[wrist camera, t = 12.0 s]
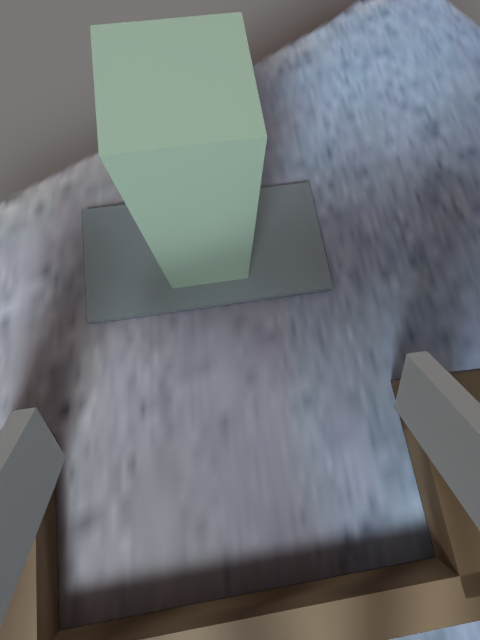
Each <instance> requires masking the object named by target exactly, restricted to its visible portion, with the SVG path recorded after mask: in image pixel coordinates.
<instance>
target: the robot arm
mask: <svg viewBox="0 0 480 640" xmlns="http://www.w3.org/2000/svg"><path fill="white" fill-rule="evenodd" d="M394 408H395V409H396V411H397V412H398V413H399V415H400V416H401V418H402V419H403V421H404V422H405V424H406V425H407V426H408V428H409V429H410V431H411V432H412V434H413V435H414V437H415V438H416V439H417V441H418V442H419V444H420V445H421V447H422V448H423V450H424V451H425V452H426V454H427V455H428V457H429V458H430V460H431V461H432V463H433V464H434V465H435V467H436V468H437V470H438V471H439V473H440V474H441V476H442V477H443V478H444V480H445V481H446V483H447V484H448V486H449V487H450V489H451V490H452V491H453V493H454V494H455V496H456V497H457V499H458V500H459V502H460V503H461V504H462V506H463V507H464V509H465V510H466V512H467V513H468V515H469V516H470V517H471V519H472V520H473V522H474V523H475V525H476V526H477V528H478V529H479V530H480V403H479V402H478V401H477V400H476V399H475V398H474V397H473V396H472V395H471V394H470V393H469V392H468V391H467V390H466V389H465V388H464V387H463V386H462V385H461V384H460V383H459V382H458V381H457V380H456V379H455V378H454V377H453V376H452V375H451V374H450V373H449V372H448V371H447V370H446V369H445V368H444V367H443V366H442V365H441V364H440V363H439V362H438V361H437V360H436V359H435V358H434V357H433V356H432V355H431V354H430V353H429V352H428V351H422V352H415V353H408V354H406V358H405V363H404V367H403V371H402V376H401V380H400V384H399V389H398V393H397V397H396V401H395V406H394ZM65 459H66V457H65V455H64V453H63V451H62V450H61V448H60V446H59V445H58V443H57V441H56V440H55V438H54V436H53V435H52V433H51V431H50V430H49V428H48V426H47V425H46V423H45V421H44V419H43V418H42V416H41V414H40V413H39V411H38V409H37V408H36V407H35V408H28V409H21V410H14V411H13V412H12V413H11V415H10V417H9V418H8V420H7V421H6V423H5V424H4V426H3V428H2V429H1V431H0V627H1V625H2V622H3V619H4V617H5V614H6V612H7V609H8V607H9V604H10V601H11V599H12V596H13V594H14V591H15V588H16V586H17V583H18V581H19V578H20V575H21V573H22V570H23V568H24V565H25V563H26V560H27V557H28V555H29V552H30V550H31V547H32V544H33V542H34V539H35V537H36V534H37V531H38V529H39V526H40V524H41V521H42V519H43V516H44V513H45V511H46V508H47V506H48V503H49V500H50V498H51V495H52V493H53V490H54V487H55V485H56V482H57V480H58V477H59V474H60V472H61V469H62V467H63V464H64V462H65Z"/></svg>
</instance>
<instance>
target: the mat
mask: <svg viewBox="0 0 480 640" xmlns="http://www.w3.org/2000/svg"><path fill="white" fill-rule="evenodd" d="M82 229H83V249H84V270H85V290H86V310H87V322H88V323H90V324H95V323H102V322H109V321H116V320H123V319H130V318H137V317H144V316H152V315H159V314H166V313H173V312H180V311H187V310H194V309H201V308H208V307H215V306H222V305H229V304H236V303H243V302H250V301H257V300H264V299H271V298H278V297H285V296H292V295H300V294H307V293H314V292H321V291H328V290H331V289H332V288H333V284H332V279H331V275H330V271H329V266H328V262H327V258H326V253H325V249H324V245H323V240H322V236H321V232H320V227H319V223H318V219H317V214H316V210H315V206H314V201H313V197H312V193H311V188H310V184H309V182H304V183H296V184H288V185H280V186H272V187H263V188H260V194H259V201H258V208H257V216H256V223H255V230H254V238H253V245H252V253H251V260H250V267H249V275H248V278H246V279H238V280H231V281H224V282H217V283H210V284H202V285H195V286H188V287H181V288H174V289H172V287H171V285H170V284H169V282H168V280H167V278H166V276H165V275H164V273H163V271H162V269H161V267H160V266H159V264H158V262H157V260H156V258H155V257H154V255H153V253H152V251H151V249H150V247H149V246H148V244H147V242H146V240H145V238H144V237H143V235H142V233H141V231H140V229H139V228H138V226H137V224H136V222H135V220H134V218H133V217H132V215H131V213H130V211H129V209H128V208H127V206H126V204H123V205H115V206H107V207H99V208H90V209H82Z"/></svg>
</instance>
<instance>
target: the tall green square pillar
mask: <svg viewBox="0 0 480 640" xmlns="http://www.w3.org/2000/svg"><path fill="white" fill-rule="evenodd" d="M90 30H91V46H92V61H93V75H94V89H95V105H96V120H97V135H98V150H99V157H100V159H101V161H102V162H103V164H104V166H105V168H106V170H107V171H108V173H109V175H110V177H111V179H112V180H113V182H114V184H115V186H116V188H117V190H118V191H119V193H120V195H121V197H122V199H123V200H124V202H125V204H126V206H127V208H128V209H129V211H130V213H131V215H132V217H133V218H134V220H135V222H136V224H137V226H138V228H139V229H140V231H141V233H142V235H143V237H144V238H145V240H146V242H147V244H148V246H149V247H150V249H151V251H152V253H153V255H154V257H155V258H156V260H157V262H158V264H159V266H160V267H161V269H162V271H163V273H164V275H165V276H166V278H167V280H168V282H169V284H170V285H171V287H172V289H174V288H181V287H188V286H195V285H202V284H210V283H217V282H224V281H231V280H238V279H246V278H248V275H249V267H250V260H251V253H252V245H253V238H254V230H255V223H256V216H257V208H258V201H259V194H260V186H261V179H262V171H263V164H264V157H265V149H266V142H267V133H266V129H265V124H264V119H263V114H262V109H261V104H260V99H259V95H258V90H257V85H256V80H255V75H254V70H253V66H252V61H251V56H250V51H249V46H248V41H247V37H246V32H245V27H244V22H243V17H242V12H236V13H226V14H214V15H203V16H192V17H181V18H169V19H159V20H147V21H136V22H125V23H114V24H103V25H92V26H90Z"/></svg>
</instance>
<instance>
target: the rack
mask: <svg viewBox="0 0 480 640" xmlns="http://www.w3.org/2000/svg"><path fill="white" fill-rule="evenodd" d="M449 373H450V374H451V375H452V376H453V377H454V378H455V379H456V380H457V381H458V382H459V383H460V384H461V385H462V386H463V387H464V388H465V389H466V390H467V391H468V392H469V393H470V394H471V395H472V396H473V397H474V398H475V399H476V400H477V401H478V402H479V403H480V369H471V370H462V371H453V372H449ZM400 380H401V379H398V380H392V381H391V384H392V388H393V392H394V396H395V400H396V397H397V393H398V389H399V384H400ZM400 419H401V423H402V427H403V431H404V435H405V439H406V443H407V447H408V451H409V455H410V459H411V462H412V466H413V470H414V474H415V478H416V482H417V486H418V490H419V494H420V498H421V502H422V506H423V510H424V513H425V517H426V521H427V525H428V529H429V533H430V537H431V541H432V545H433V549H434V553H435V558H429V559H424V560H419V561H414V562H409V563H404V564H399V565H393V566H388V567H383V568H378V569H373V570H368V571H363V572H358V573H352V574H347V575H342V576H337V577H332V578H327V579H322V580H316V581H311V582H306V583H301V584H296V585H291V586H286V587H280V588H275V589H270V590H265V591H260V592H255V593H250V594H245V595H239V596H234V597H229V598H224V599H219V600H214V601H209V602H203V603H198V604H193V605H188V606H183V607H178V608H173V609H168V610H162V611H157V612H152V613H147V614H142V615H137V616H132V617H126V618H121V619H116V620H111V621H106V622H101V623H96V624H91V625H85V626H80V627H75V628H70V629H65V630H60V631H59V608H58V567H57V525H56V485H55V487H54V490H53V493H52V495H51V498H50V500H49V503H48V506H47V508H46V511H45V513H44V516H43V519H42V521H41V524H40V526H39V529H38V531H37V534H36V537H35V539H34V542H33V544H32V547H31V550H30V552H29V555H28V557H27V560H26V563H25V565H24V568H23V570H22V573H21V575H20V578H19V581H18V583H17V586H16V588H15V591H14V594H13V596H12V599H11V601H10V604H9V607H8V609H7V612H6V614H5V617H4V619H3V622H2V625H1V627H0V640H388V639H393V638H398V637H403V636H407V635H412V634H417V633H422V632H427V631H431V630H436V629H441V628H446V627H451V626H455V625H460V624H465V623H470V622H475V621H479V620H480V530H479V529H478V528H477V526H476V525H475V523H474V522H473V520H472V519H471V517H470V516H469V515H468V513H467V512H466V510H465V509H464V507H463V506H462V504H461V503H460V502H459V500H458V499H457V497H456V496H455V494H454V493H453V491H452V490H451V489H450V487H449V486H448V484H447V483H446V481H445V480H444V478H443V477H442V476H441V474H440V473H439V471H438V470H437V468H436V467H435V465H434V464H433V463H432V461H431V460H430V458H429V457H428V455H427V454H426V452H425V451H424V450H423V448H422V447H421V445H420V444H419V442H418V441H417V439H416V438H415V437H414V435H413V434H412V432H411V431H410V429H409V428H408V426H407V425H406V424H405V422H404V421H403V419H402V418H401V416H400ZM53 436H54V435H53Z"/></svg>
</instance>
